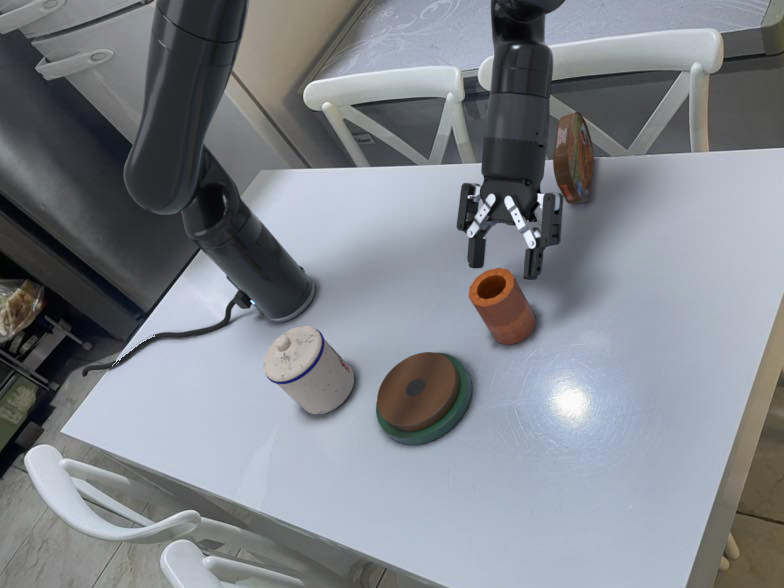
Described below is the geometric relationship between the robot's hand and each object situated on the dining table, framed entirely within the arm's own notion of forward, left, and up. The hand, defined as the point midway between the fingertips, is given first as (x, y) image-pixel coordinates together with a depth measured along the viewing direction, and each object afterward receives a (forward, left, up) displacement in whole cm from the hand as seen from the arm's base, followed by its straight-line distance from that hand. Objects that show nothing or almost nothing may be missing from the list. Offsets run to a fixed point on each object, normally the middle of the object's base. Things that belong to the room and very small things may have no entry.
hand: (502, 273), depth 87 cm
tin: (+2, +25, -8) cm, 26 cm away
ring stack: (-10, -14, -8) cm, 19 cm away
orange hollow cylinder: (-1, -2, -8) cm, 8 cm away
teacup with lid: (-28, -13, -8) cm, 32 cm away
